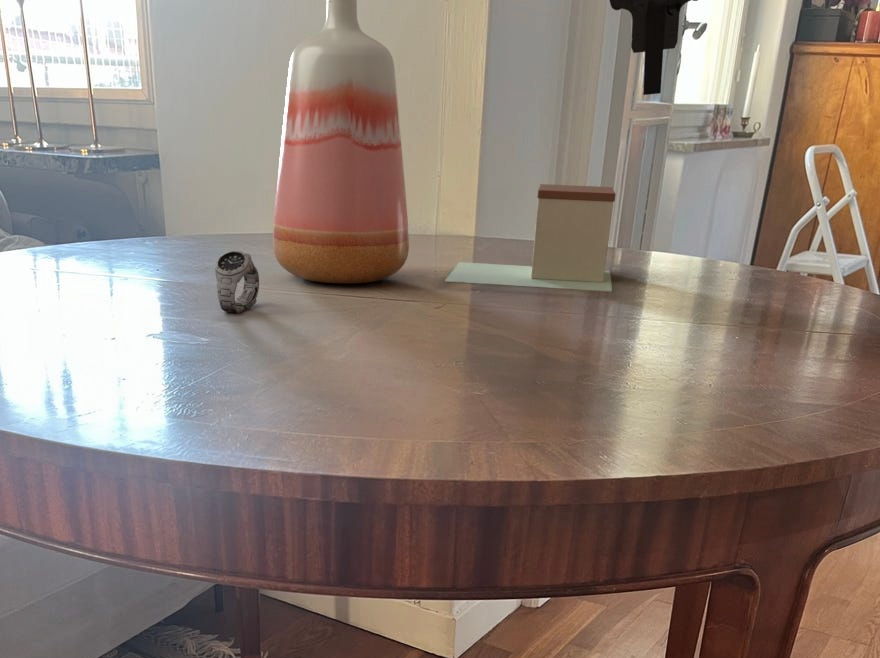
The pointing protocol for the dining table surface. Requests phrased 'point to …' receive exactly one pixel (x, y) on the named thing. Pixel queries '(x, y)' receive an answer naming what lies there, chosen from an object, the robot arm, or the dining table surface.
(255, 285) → the wristwatch
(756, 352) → the dining table surface
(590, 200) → the toy box
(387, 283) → the dining table surface
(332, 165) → the vase
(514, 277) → the mat
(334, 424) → the dining table surface
